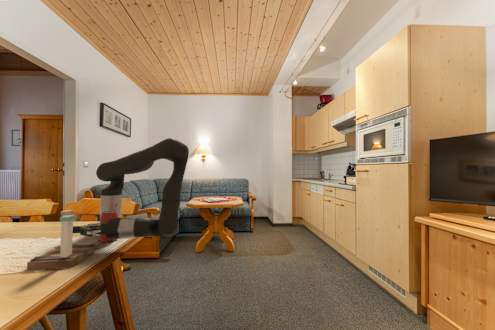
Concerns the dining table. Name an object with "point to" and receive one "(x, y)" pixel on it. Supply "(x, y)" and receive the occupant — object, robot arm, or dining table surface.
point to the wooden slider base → (54, 260)
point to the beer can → (104, 218)
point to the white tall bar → (67, 212)
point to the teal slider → (66, 235)
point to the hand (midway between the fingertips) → (70, 229)
